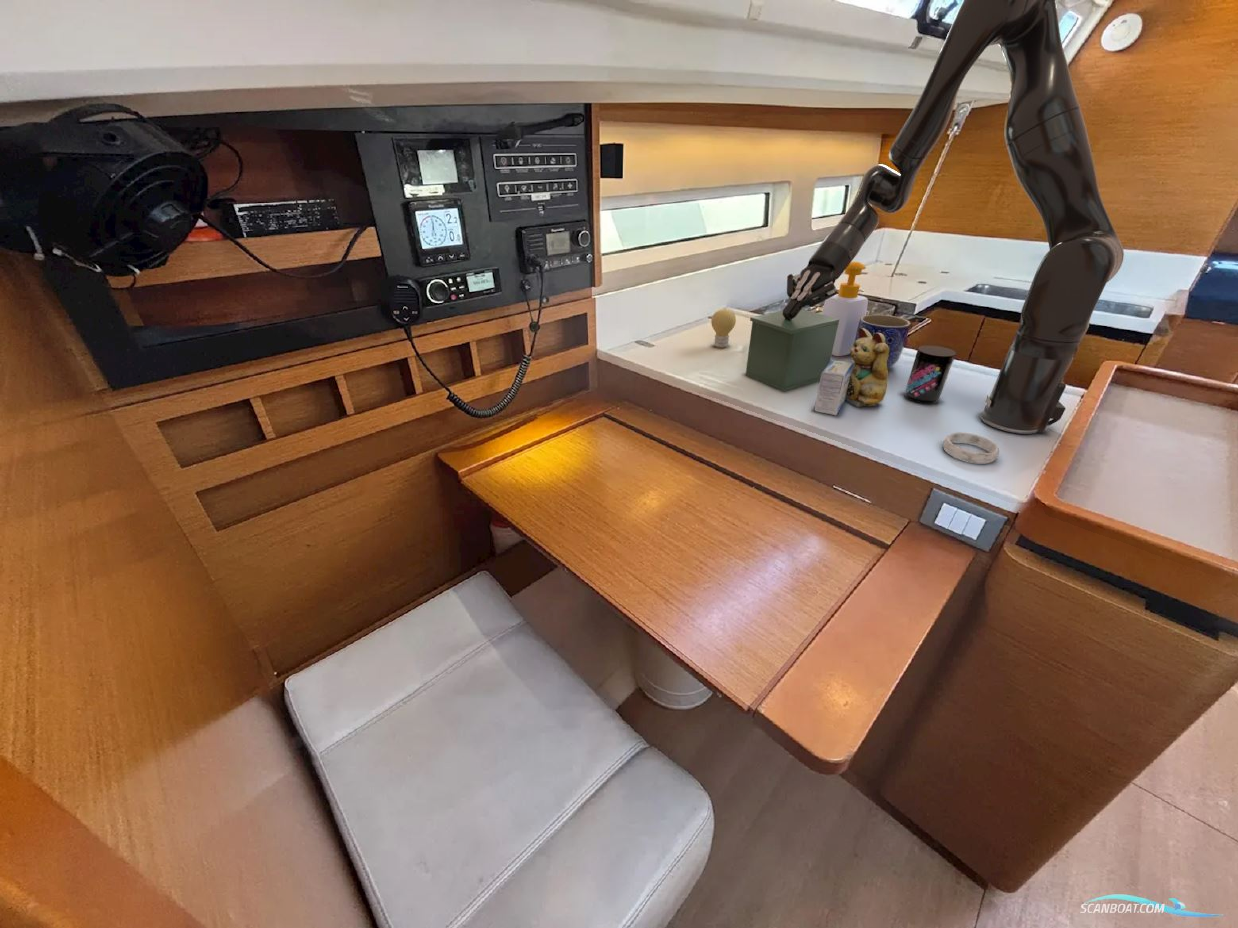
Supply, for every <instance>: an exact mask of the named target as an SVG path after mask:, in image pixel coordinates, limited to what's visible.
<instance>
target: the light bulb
mask: <svg viewBox="0 0 1238 928" xmlns="http://www.w3.org/2000/svg"><path fill="white" fill-rule="evenodd" d="M710 323H711V327H712V329H713V330H714V333H715V334H714V342H713V343H714V346H715V347H717V348H720V349H722V348H726V347H727V346H729V341H730V339H729V338H730V335H729V334H730V333H731V332H732V331H733V329H734V328H735V326H736V323H737V318H736V315H735V313H734V312H733V311H732V310H730V309H727V308H721V309H718V310H717V311H715V312H714V313H713V314H712V317H711V320H710Z"/></svg>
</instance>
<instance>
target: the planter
mask: <svg viewBox="0 0 1238 928" xmlns="http://www.w3.org/2000/svg"><path fill="white" fill-rule="evenodd" d="M910 327H911V322H910V321H909V320H908V319H906V318H903V317H901V316H897V315H896V316H895V315H891V314H890V315H888V314H866V315H865V316H862V317H861V318H860V321H859V324H858V328H857V332H856V337H855V341H856V340H858V339H859V329H860V328H864V329H866V330H867V331H868V332H869V333H870V334H871V335H872V337H873V335H874V334H875V333H881V334H883V335H884V337H885V343H886V344H887V345H888V347H889V354H888V359H887V370H889V369H891V368H893V367H894V366H895V365H896V364H897V363H898V362H899V360H900V358H901V356H902V353H903V350H904V347H905V345H906V342H907V339H908V335H909V331H910ZM855 341H854V343H855Z"/></svg>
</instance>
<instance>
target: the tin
mask: <svg viewBox="0 0 1238 928" xmlns="http://www.w3.org/2000/svg"><path fill="white" fill-rule="evenodd" d="M751 322H752V323H751V329H750V330H751V331H750V337H749V346H748V352H747V359H746V360H747V361H746V370H745V376H747V377H749V378H752V379H754V380H756V381H759V382H761V383H763V384H765V385H768V386H770V387H772V388H774V389H777V390H779V391H781V392H787V391H790V390H794V389H797V388H800V387H804V386H807V385H811V384H813V383H818V382H820V379H821V375H822V372H823V371H824V370H825V368H826V367H827V366H828V364H829V363H830V362H831V361H832V356H833V355H832V351H833V346H834V341H835V337H836V332H837V328H838V323H836V324H832V325H827V326H823V327H819V328H815V329H810V330H806V331H802V332H798V333H794V334H789V333H786V332H783V331H780V330H777V329H774V328H771V327H768V326H765V325H762V324H759V323H756V322H753V321H751Z"/></svg>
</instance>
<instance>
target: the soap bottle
mask: <svg viewBox="0 0 1238 928" xmlns="http://www.w3.org/2000/svg"><path fill="white" fill-rule="evenodd" d="M866 269H867V266H865V264H863V263H862V262H860V261H851V263H850V264H849V265H848V267H847V268H846V269H845V270H844V272H843V273H844V274H845V275H847V276H848V278H847V281H846V282H842V283H840V285H839V290H838V293H837V294H836V295H834V296H832V297H830V298H828V299H826V300H825V301H824V304H823V307H822V310H821V313H820V314H822V315H826V316H829V317H833V318H837V319H839V323H838V328H837V332H836V337H835V341H834V346H833V351H832V355H831V356H834V357H843V356H848V355H851V354H850V350H851V347H852V346H853V344H854V341H855V337H856V332H857V328H858V324H859V321H860V318H861V317H862V316H865V315H867V313H868V304H869V299H868V298H867V297H865V296H863V295H859V291H860V287H861V284H859V283H855V281H856V277H857V276H861V275H862V272H863V270H866Z"/></svg>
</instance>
